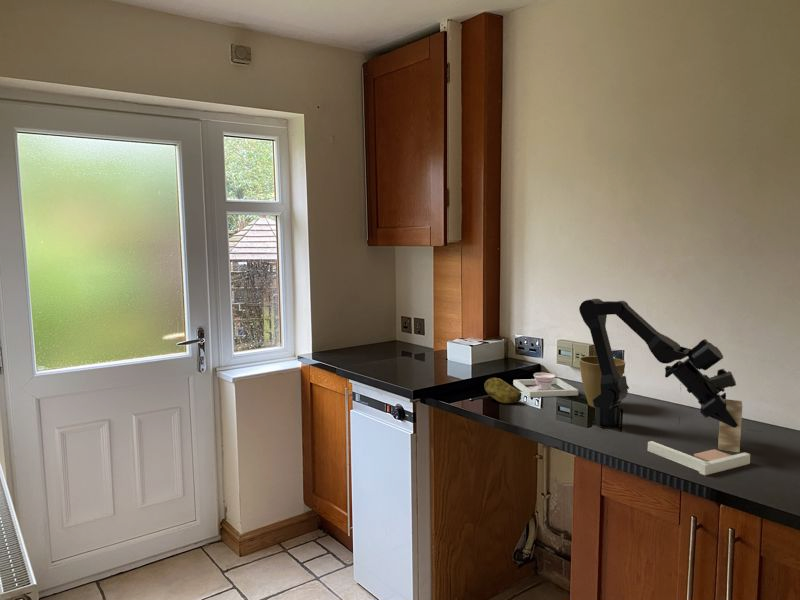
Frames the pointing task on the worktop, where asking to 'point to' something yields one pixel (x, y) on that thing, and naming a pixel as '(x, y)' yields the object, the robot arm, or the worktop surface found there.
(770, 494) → the worktop surface
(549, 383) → the teacup
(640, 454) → the worktop surface
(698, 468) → the corner arena
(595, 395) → the plant pot
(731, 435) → the birch block
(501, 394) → the potato
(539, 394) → the saucer tray
